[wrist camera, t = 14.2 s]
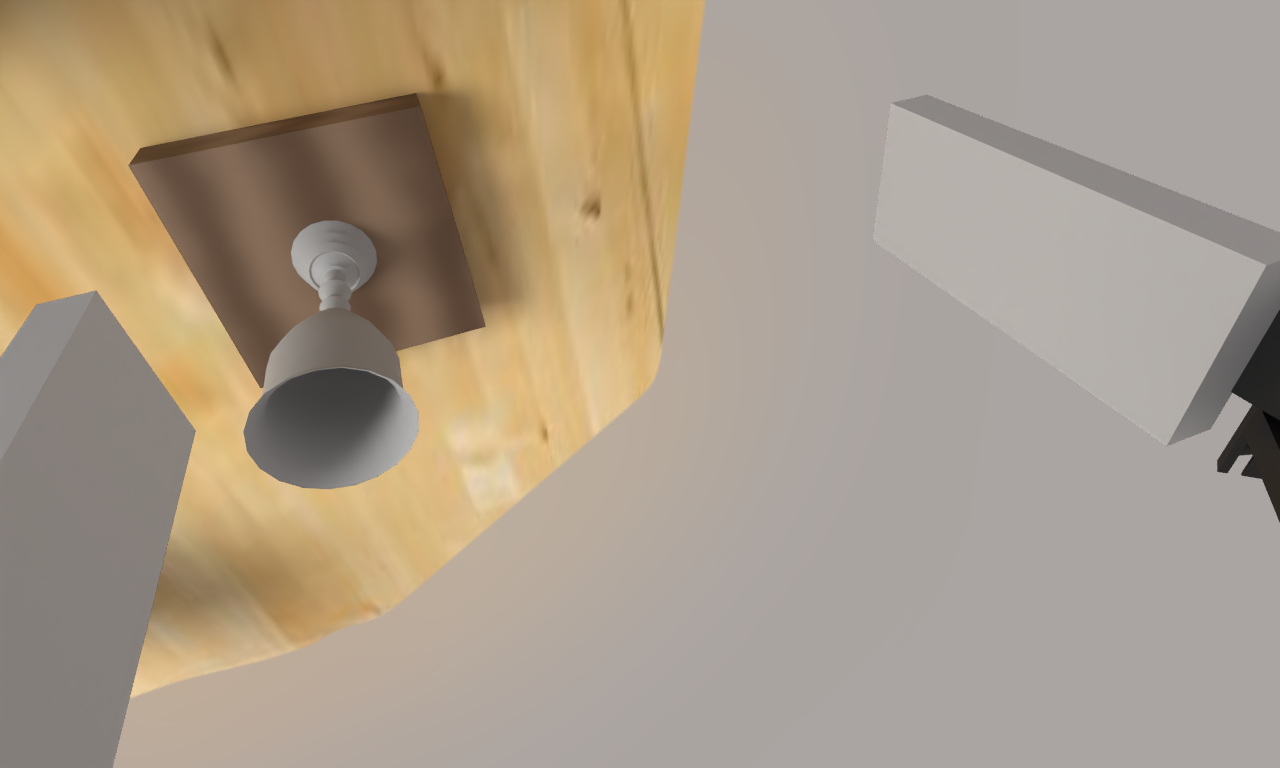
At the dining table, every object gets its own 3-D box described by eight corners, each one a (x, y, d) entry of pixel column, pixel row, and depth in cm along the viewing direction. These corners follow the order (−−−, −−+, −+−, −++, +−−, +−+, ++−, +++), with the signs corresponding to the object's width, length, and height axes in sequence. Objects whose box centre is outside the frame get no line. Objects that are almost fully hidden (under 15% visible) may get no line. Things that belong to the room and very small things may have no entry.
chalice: (356, 186, 42) (367, 339, 28) (414, 274, 46) (446, 442, 33) (246, 238, 41) (204, 418, 28) (315, 321, 46) (307, 511, 32)
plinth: (263, 364, 50) (260, 388, 47) (140, 148, 39) (128, 165, 37) (479, 306, 53) (485, 326, 51) (415, 93, 43) (420, 106, 40)
